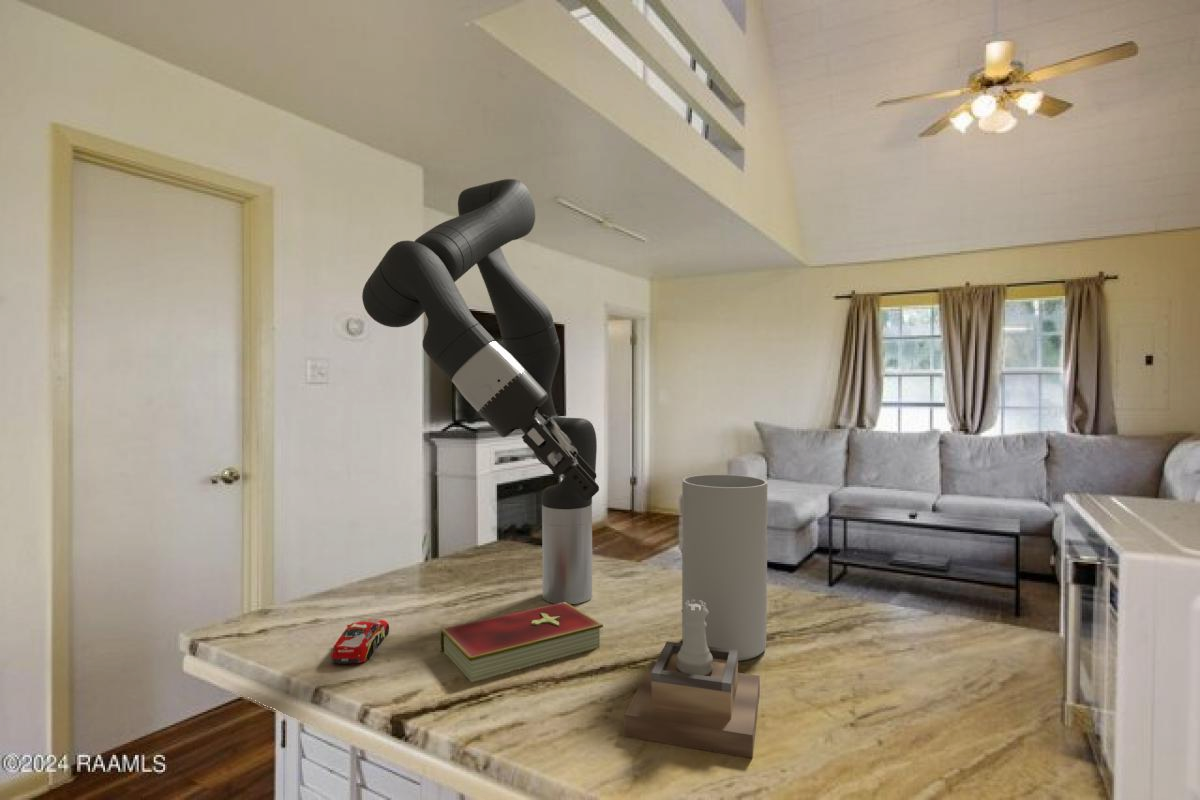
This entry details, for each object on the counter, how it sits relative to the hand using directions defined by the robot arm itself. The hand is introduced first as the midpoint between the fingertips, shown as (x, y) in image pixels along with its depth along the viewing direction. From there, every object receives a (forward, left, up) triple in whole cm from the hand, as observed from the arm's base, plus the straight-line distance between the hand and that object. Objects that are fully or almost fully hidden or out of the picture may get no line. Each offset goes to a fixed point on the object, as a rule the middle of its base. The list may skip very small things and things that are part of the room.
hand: (592, 487), depth 75 cm
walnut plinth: (-3, +12, -27) cm, 30 cm away
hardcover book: (-13, -16, -28) cm, 35 cm away
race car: (-7, -39, -28) cm, 48 cm away
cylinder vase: (-24, +13, -27) cm, 39 cm away
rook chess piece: (-3, +12, -22) cm, 25 cm away
